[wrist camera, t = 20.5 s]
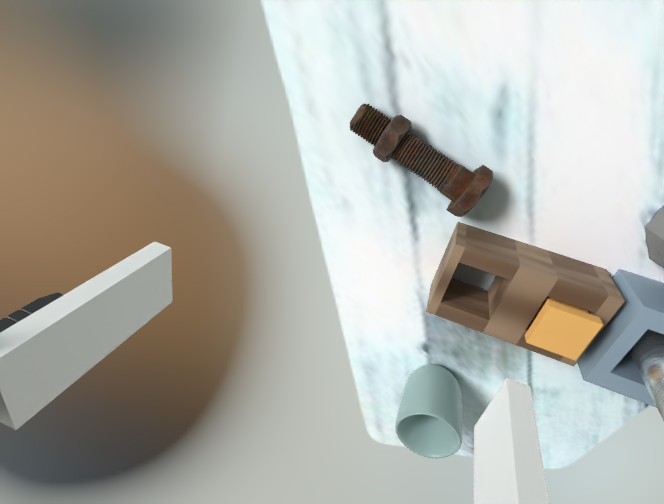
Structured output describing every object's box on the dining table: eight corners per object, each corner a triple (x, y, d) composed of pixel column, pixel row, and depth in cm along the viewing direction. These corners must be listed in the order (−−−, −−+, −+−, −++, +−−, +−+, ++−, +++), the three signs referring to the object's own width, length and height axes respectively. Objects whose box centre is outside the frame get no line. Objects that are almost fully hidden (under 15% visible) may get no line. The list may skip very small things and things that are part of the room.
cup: (431, 404, 57) (424, 465, 48) (396, 369, 56) (382, 425, 47) (475, 385, 52) (475, 448, 44) (438, 347, 52) (430, 404, 43)
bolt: (369, 105, 42) (482, 180, 42) (343, 142, 43) (454, 218, 42) (371, 82, 36) (501, 170, 36) (341, 126, 37) (470, 214, 36)
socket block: (457, 221, 43) (455, 244, 38) (606, 269, 40) (625, 300, 35) (431, 284, 48) (426, 311, 43) (562, 330, 45) (573, 366, 40)
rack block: (618, 268, 40) (643, 306, 34) (713, 299, 38) (756, 344, 32) (569, 337, 45) (583, 379, 39) (650, 366, 43) (678, 415, 37)
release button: (539, 271, 41) (549, 306, 36) (585, 287, 40) (603, 325, 35) (519, 305, 44) (526, 342, 38) (562, 320, 43) (575, 360, 37)
